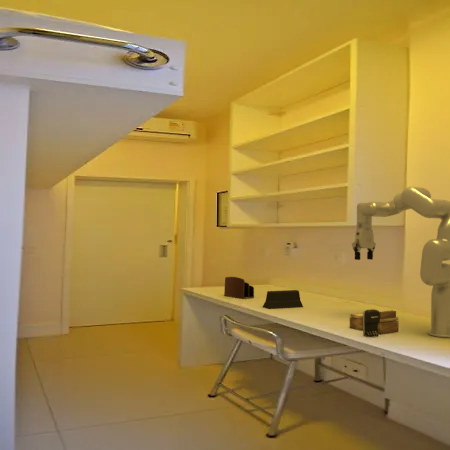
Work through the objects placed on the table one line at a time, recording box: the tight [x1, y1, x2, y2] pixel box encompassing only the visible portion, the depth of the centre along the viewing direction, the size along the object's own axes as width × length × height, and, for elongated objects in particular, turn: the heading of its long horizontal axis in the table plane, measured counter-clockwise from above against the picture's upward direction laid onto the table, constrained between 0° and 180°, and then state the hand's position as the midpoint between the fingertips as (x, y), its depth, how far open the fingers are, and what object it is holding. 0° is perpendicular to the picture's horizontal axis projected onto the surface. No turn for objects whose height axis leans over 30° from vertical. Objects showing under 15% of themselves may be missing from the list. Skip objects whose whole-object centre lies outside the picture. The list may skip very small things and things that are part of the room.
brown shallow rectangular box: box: [349, 316, 400, 336], centre depth 226 cm, size 18×13×5 cm
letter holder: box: [223, 276, 255, 300], centre depth 336 cm, size 10×20×14 cm, turn 40°
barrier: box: [262, 289, 304, 310], centre depth 293 cm, size 24×9×10 cm, turn 115°
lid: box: [349, 310, 399, 322], centre depth 226 cm, size 17×13×4 cm
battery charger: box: [362, 308, 381, 338], centre depth 212 cm, size 7×4×11 cm, turn 110°
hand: (363, 259), depth 255 cm, fingers open, 9 cm apart
